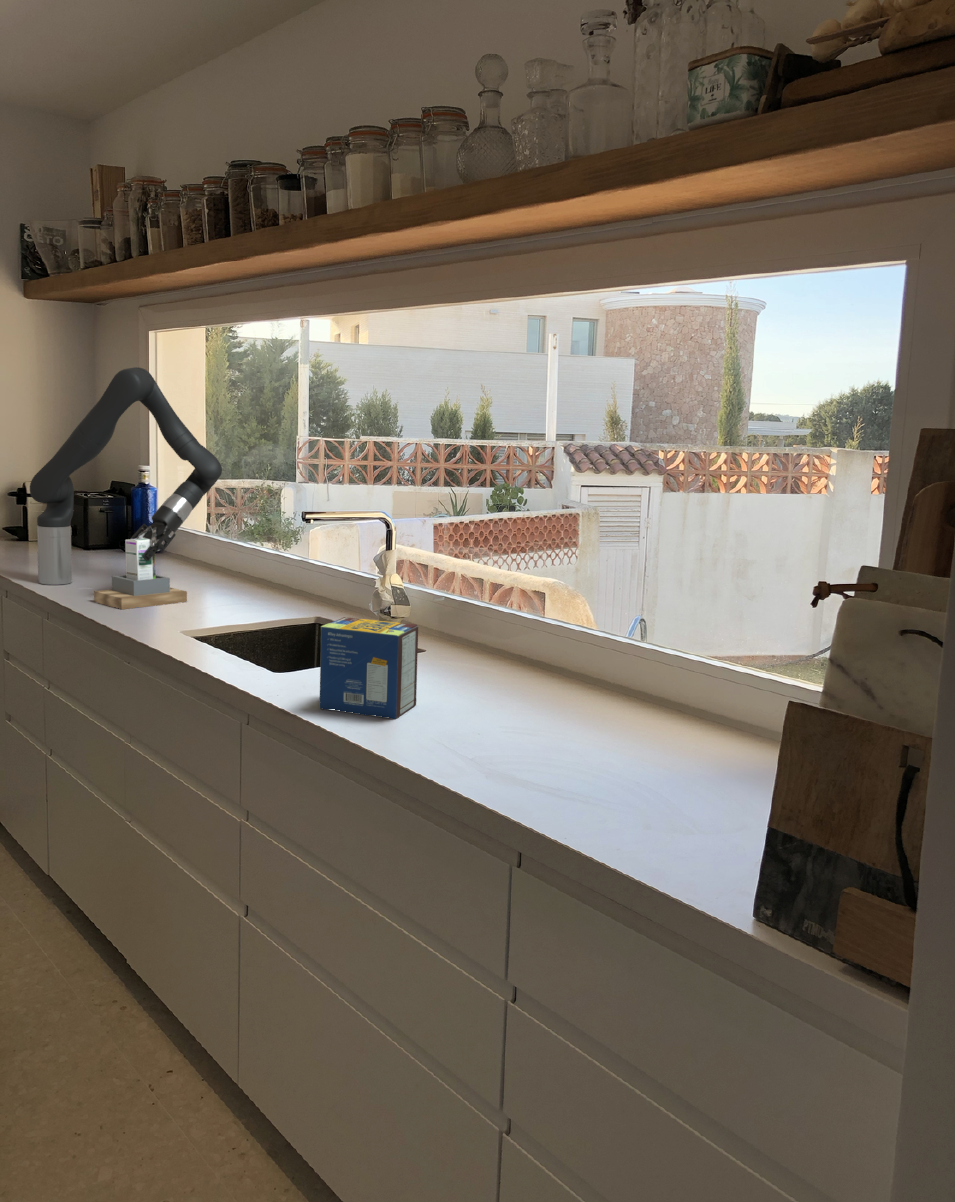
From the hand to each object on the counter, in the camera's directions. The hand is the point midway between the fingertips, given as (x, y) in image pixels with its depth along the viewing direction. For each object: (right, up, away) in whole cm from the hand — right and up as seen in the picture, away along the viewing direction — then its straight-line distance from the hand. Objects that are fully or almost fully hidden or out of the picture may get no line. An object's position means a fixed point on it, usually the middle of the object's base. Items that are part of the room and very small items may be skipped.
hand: (136, 556), depth 275 cm
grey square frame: (0, -9, +3) cm, 10 cm away
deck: (0, -12, +3) cm, 13 cm away
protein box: (+73, -32, -90) cm, 120 cm away
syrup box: (0, -9, +3) cm, 10 cm away
